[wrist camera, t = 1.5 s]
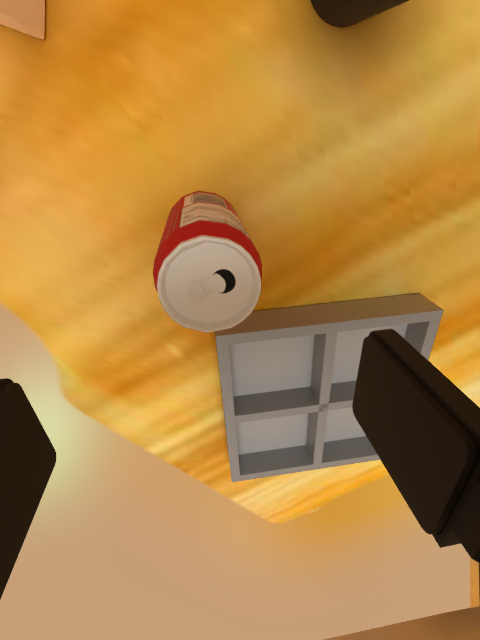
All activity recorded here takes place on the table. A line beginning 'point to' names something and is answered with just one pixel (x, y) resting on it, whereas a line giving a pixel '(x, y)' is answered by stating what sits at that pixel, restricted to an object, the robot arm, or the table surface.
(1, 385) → the robot arm
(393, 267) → the table surface
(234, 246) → the soda can
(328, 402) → the drink carrier
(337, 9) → the drinking cup
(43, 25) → the milk carton
